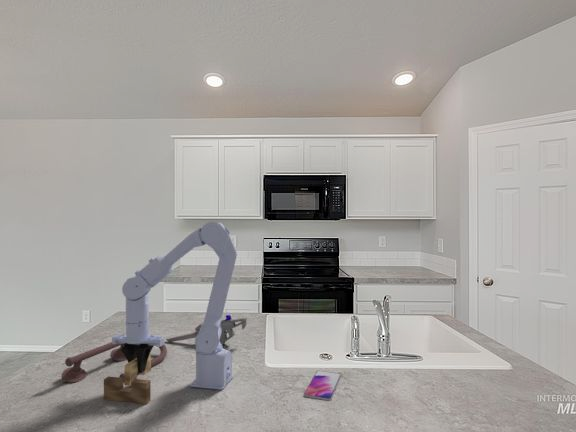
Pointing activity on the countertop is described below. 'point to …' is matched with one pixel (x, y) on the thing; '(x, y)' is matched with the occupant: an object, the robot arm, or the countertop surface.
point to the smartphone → (323, 385)
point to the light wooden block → (135, 370)
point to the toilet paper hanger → (78, 373)
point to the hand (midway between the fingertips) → (138, 371)
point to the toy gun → (225, 325)
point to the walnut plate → (127, 390)
